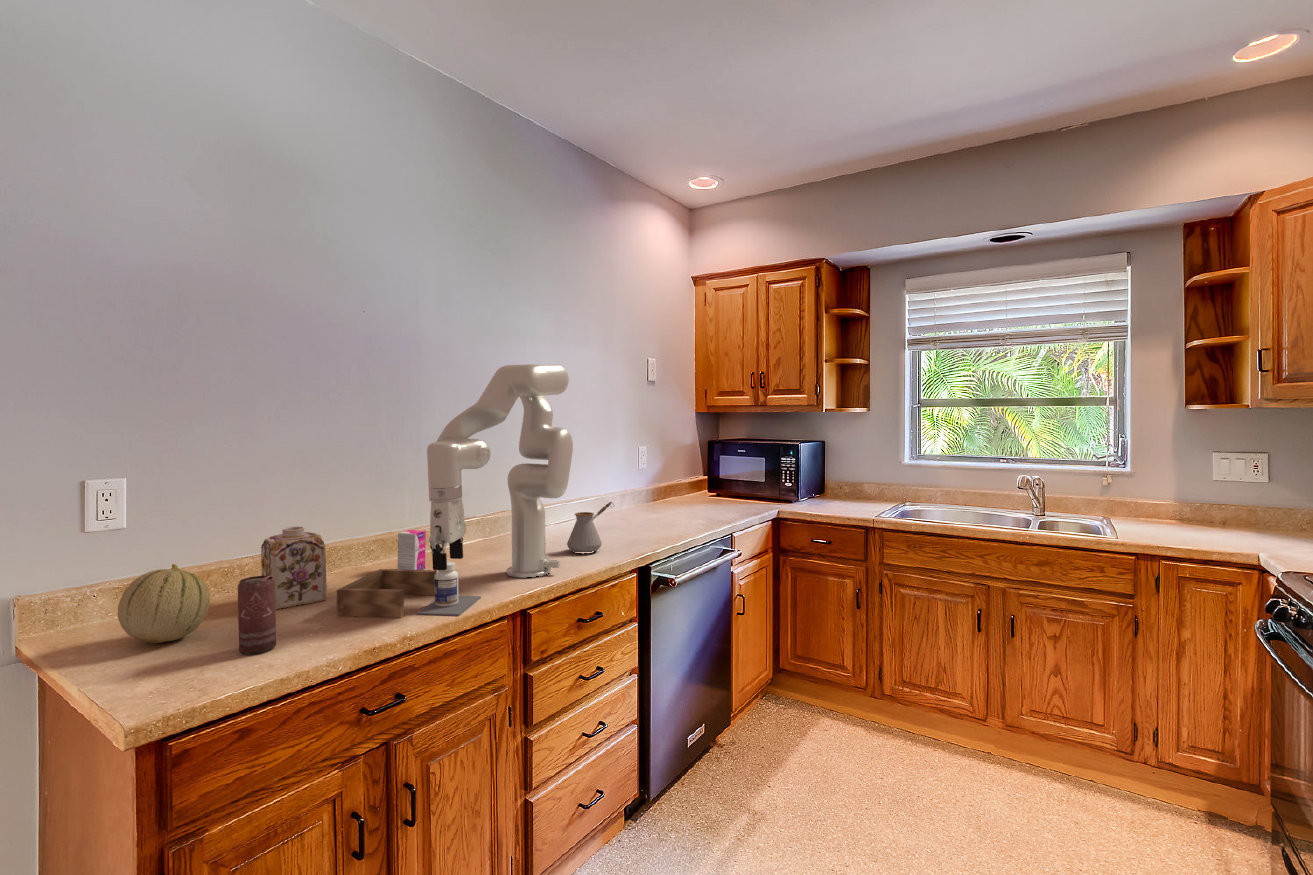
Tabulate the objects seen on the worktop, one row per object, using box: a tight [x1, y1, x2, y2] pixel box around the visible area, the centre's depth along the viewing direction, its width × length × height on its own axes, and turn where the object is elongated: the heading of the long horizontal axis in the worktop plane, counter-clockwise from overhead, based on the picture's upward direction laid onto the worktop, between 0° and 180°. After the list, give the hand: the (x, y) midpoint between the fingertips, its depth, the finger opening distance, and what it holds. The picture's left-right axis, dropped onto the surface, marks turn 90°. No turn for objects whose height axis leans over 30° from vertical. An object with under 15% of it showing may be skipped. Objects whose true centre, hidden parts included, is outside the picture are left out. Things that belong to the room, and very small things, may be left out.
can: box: [237, 575, 277, 656], centre depth 122 cm, size 6×6×14 cm
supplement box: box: [397, 529, 427, 570], centre depth 184 cm, size 6×6×12 cm
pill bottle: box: [434, 561, 459, 607], centre depth 150 cm, size 5×5×10 cm
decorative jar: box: [260, 525, 327, 611], centre depth 154 cm, size 12×12×18 cm
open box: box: [336, 568, 438, 619], centre depth 152 cm, size 15×19×6 cm
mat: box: [416, 595, 482, 617], centre depth 150 cm, size 10×14×1 cm
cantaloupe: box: [117, 563, 211, 644], centre depth 127 cm, size 15×15×15 cm
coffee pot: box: [566, 501, 615, 552], centre depth 213 cm, size 21×12×15 cm, turn 148°
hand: (448, 563), depth 151 cm, fingers open, 9 cm apart
